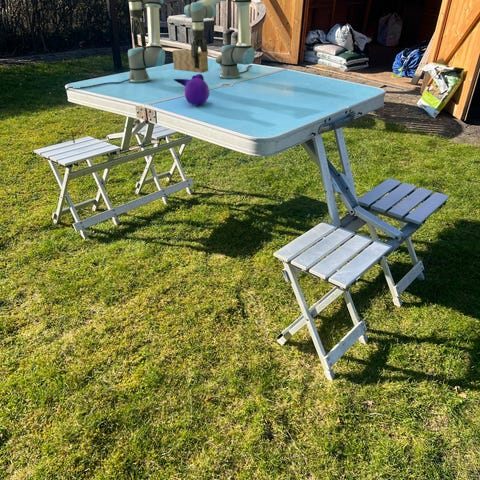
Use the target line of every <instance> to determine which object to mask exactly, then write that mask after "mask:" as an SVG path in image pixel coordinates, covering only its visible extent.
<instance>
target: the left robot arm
mask: <svg viewBox="0 0 480 480" xmlns="http://www.w3.org/2000/svg"><path fill="white" fill-rule="evenodd" d="M127 1H128V7H129V15H130V17H131V18H130V19H131V22H130V23H131V27H130V32H131V33H132V38H133V45H134V46H138V45H139V37H138V31H139V33H140V34H139V36H140V42H141V46H138V47H134V48H130V49H128V50H127V57H128V66H129V76H128V79H125V80H121V81H113V82H112V81H110V82H103V83H102V82H101V83H96V84H93V85H87V86H86V85H85V86H79V87H80V88H73V87H74V86H68V87H66V88H65V91H69V89H74V90H78V89H81V90H82V89H87V88H93V87H98V86H102V85H103V86H104V85H110V84H111V85H112V84H122V83H125V82H129V83H133V84H141V83H148V82H150V76H149V74H148V71H147V67H163V65H165V61H166V51H165V49H164V48H163V46H162V44H161V28H160V9H161V8H162V4H164V0H127ZM142 5H144V7H145V8H146V21H147V22H146V23H147V30H146V27H145V23H144V19H143V18H141V17H143V10H142ZM146 36H147V39H146ZM147 41H148V42H147ZM73 131H74V130H73V129H71V130H70V132H71V137H72V141H73V144H76V141H75V136H74V132H73Z"/></svg>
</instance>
